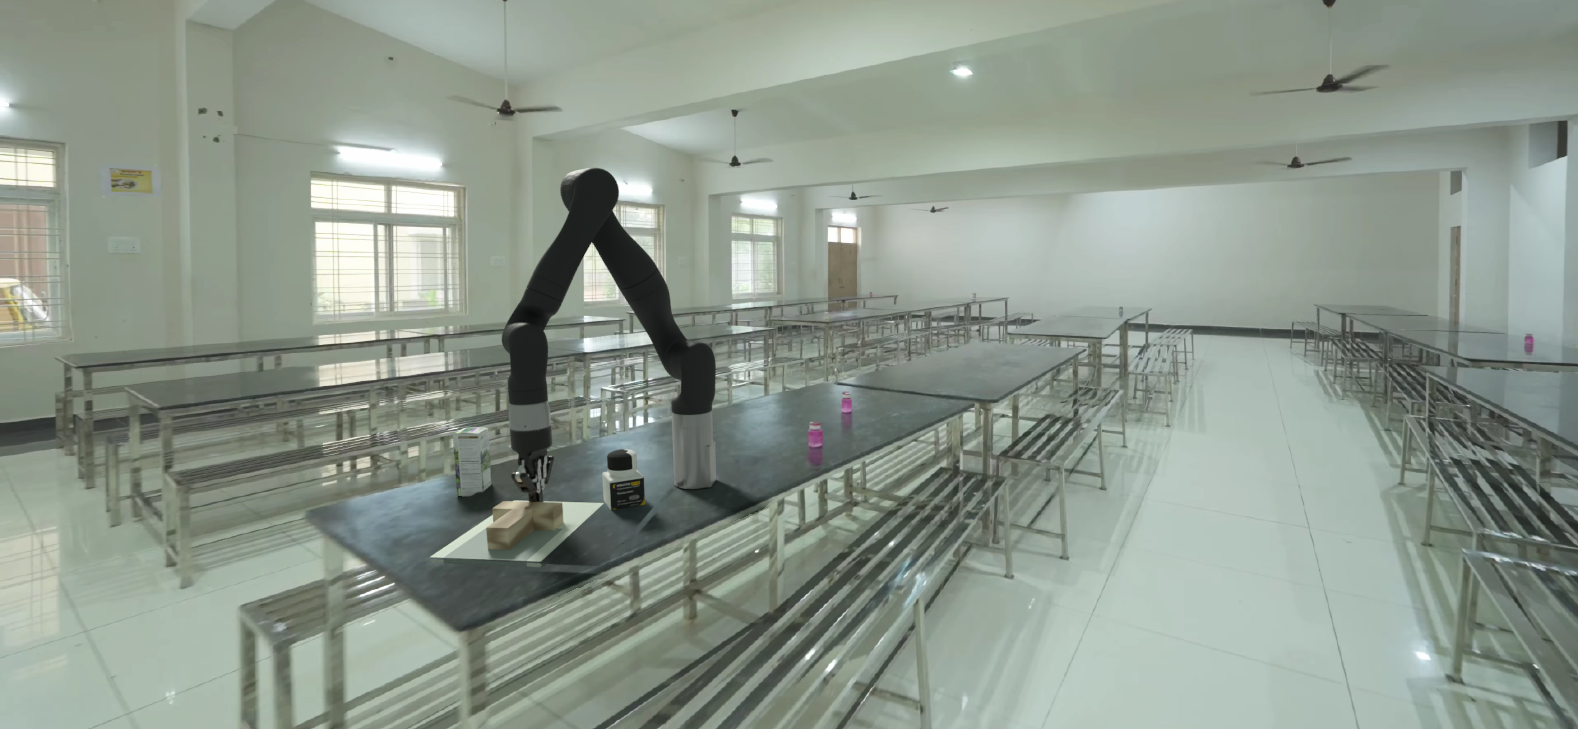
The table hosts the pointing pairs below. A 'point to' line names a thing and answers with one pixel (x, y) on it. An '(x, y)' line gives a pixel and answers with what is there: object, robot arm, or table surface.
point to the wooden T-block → (521, 521)
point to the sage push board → (525, 550)
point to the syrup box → (472, 460)
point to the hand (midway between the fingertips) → (536, 509)
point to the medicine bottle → (623, 480)
